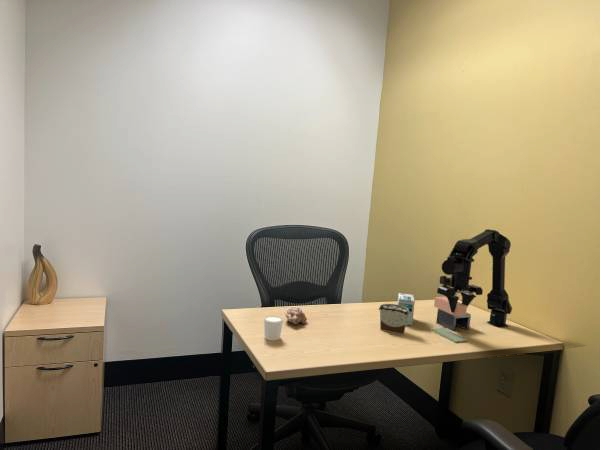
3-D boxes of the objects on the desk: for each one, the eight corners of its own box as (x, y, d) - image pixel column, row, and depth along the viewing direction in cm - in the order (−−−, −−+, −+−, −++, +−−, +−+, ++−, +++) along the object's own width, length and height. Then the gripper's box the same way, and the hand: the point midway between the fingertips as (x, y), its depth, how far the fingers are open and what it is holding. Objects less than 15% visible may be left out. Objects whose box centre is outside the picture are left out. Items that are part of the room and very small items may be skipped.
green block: (443, 329, 193) (443, 327, 193) (468, 341, 181) (468, 339, 181) (431, 330, 191) (431, 328, 191) (455, 342, 178) (455, 341, 178)
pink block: (443, 305, 194) (444, 296, 194) (465, 315, 183) (467, 305, 182) (434, 306, 192) (435, 297, 192) (455, 316, 181) (457, 306, 180)
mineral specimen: (313, 322, 185) (306, 309, 183) (298, 333, 183) (290, 320, 180) (301, 313, 196) (294, 300, 193) (286, 323, 194) (279, 310, 191)
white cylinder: (267, 341, 165) (268, 322, 164) (260, 335, 171) (261, 316, 170) (284, 339, 168) (286, 321, 168) (276, 333, 174) (278, 315, 174)
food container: (410, 331, 188) (413, 307, 187) (407, 335, 182) (409, 310, 181) (380, 324, 193) (382, 301, 192) (376, 329, 187) (379, 305, 186)
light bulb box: (412, 325, 195) (415, 300, 194) (396, 323, 196) (398, 298, 195) (411, 318, 205) (414, 294, 204) (396, 316, 207) (398, 292, 205)
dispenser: (452, 321, 204) (453, 307, 204) (469, 329, 195) (470, 314, 195) (436, 323, 201) (437, 308, 200) (452, 331, 192) (454, 315, 191)
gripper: (464, 268, 193) (460, 304, 195) (429, 268, 185) (425, 307, 186) (485, 274, 183) (480, 312, 185) (450, 275, 175) (445, 315, 176)
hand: (457, 311), depth 183 cm, fingers closed on pink block, 5 cm apart
